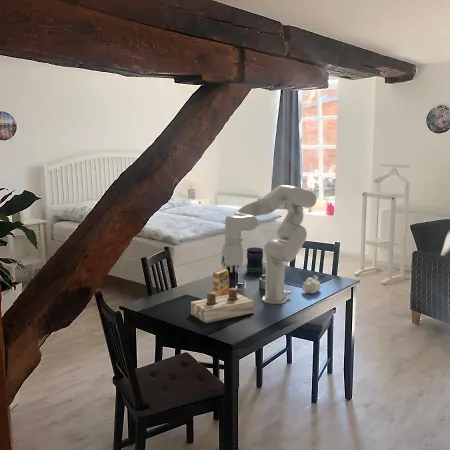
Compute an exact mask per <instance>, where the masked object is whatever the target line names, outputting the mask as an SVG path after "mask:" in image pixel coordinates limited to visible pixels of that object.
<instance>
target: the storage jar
mask: <svg viewBox="0 0 450 450" xmlns="http://www.w3.org/2000/svg"><path fill="white" fill-rule="evenodd" d="M246 250H247V251H246V258H247V261H246V263H247V264H246V274H247V275H250V276H261V275H262V274H263V270H264V264H263V259H264V248H261V247H254V246H253V247H248V248H247V249H246Z"/></svg>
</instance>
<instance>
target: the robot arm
mask: <svg viewBox="0 0 450 450" xmlns="http://www.w3.org/2000/svg"><path fill="white" fill-rule="evenodd" d="M285 203H286V204H287V205H288V206H287V207H288V210H287V214H286V215H285V217H284V219H283V221H282V222H281V224H280V225H279V227H278V228H277V232H276V235H277V238H279V239H269V240H267V241H266V243H265V244H264V248H263V254H264V258H265V286H264V287H265V288H264V289H265V290H264V291H265V295H263V296H262V297H261V299H262V302H264V303H266V304H270V305H271V304H272V305H280V304H281V305H282V304H286V302H287V301H288V298H287V296H290V295H292V291H290V290H289V291H287V290H285V273H286V272H285V267H286V266H285V263H290V262H292V261H294V260H295V259H296V257H297V255H298V254H299V252H300V250H301V249H302V247H303V245H304V244H305V242H306V240H307V236H308V234H307V232H308V231H307V229H306V228H305V227H304V226H303V225H302V223H303V221H304V212H303V208H307V209H310V208H313V207H314V206H316V203H317V195H316V193H314V192H313V191H312V190H309V189H304V188H302V187H297V186H294V185H287V184H286V185H285V184H281V185H278V186H276V187H274V189H272V190H271V191H270V192H268V193H267V194H266V195H264V196H263V197H261V199H257V200H255V201H253V202H250V203H247V204H246V205H244V206H241V208H240V209H238V210H237V211H235V212H234V213H233V215H227V216H225V220H224V221H225V222H224V223H225V227H224V243H223V245H222V248H221V256H220V264H221V265H222V266H221V267H222V269H225V270H228V271H229V276H228V277H229V281H235V280H236V278H237V277H236V274H237V271H238V269H239V268H241V267H242V266H243V263H244V250H243V249H244V248H243V244H242V242H243V239H244V238H242V231H244V232H246V231H248V232H250V231H254V230H255V229H256V228H257V227H258V224H259V220H258V218H257V216H264V215H269V214H272V213H274V212H275V211H276V210H277V209H279V207H281V206H282V205H283V204H285ZM284 262H285V263H284Z"/></svg>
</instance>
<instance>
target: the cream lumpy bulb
mask: <svg viewBox="0 0 450 450" xmlns="http://www.w3.org/2000/svg"><path fill="white" fill-rule="evenodd" d="M318 279H319V277H318V276H316V275H315V274H314V275H313V276H312V277H306V279H305V280H304V281H303V283H302V285H301V290H302V291H303V292H305V293H306V294H309V293H310V295H314V294H315V293H317V292H319V291H320V290H321V286H322V285H321V282H320V281H319V280H318ZM313 293H314V294H313Z"/></svg>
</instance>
